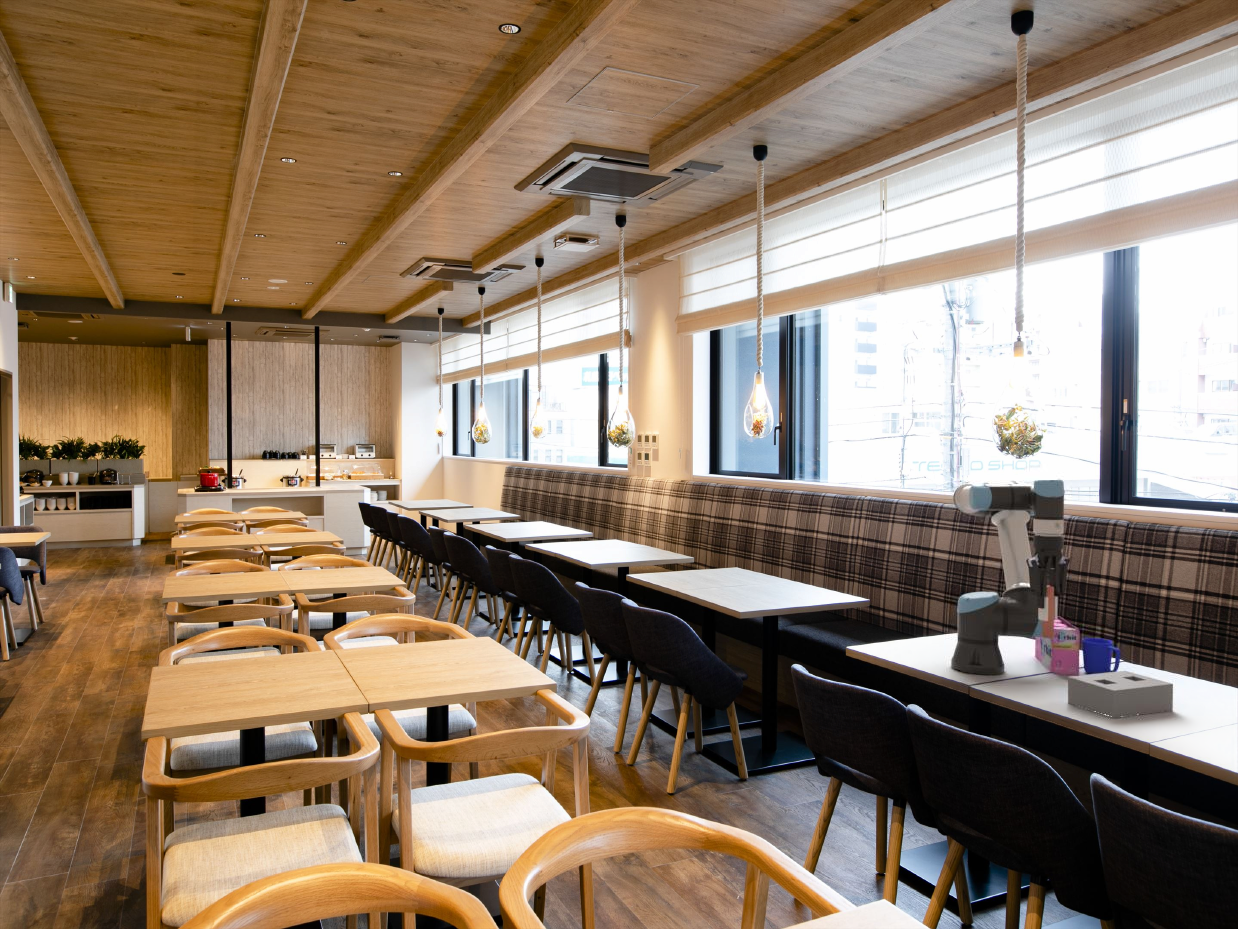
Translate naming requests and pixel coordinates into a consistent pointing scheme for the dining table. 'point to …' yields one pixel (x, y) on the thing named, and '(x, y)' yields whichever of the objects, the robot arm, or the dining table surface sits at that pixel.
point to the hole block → (1120, 693)
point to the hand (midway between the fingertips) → (1047, 619)
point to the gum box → (1060, 648)
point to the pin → (1049, 615)
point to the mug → (1099, 655)
